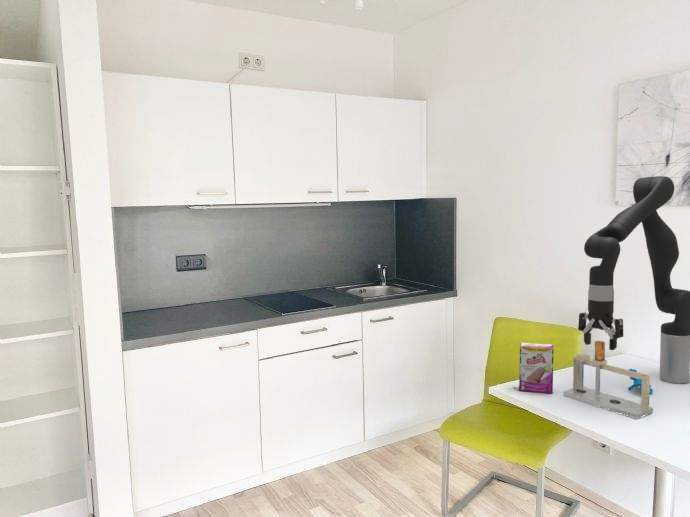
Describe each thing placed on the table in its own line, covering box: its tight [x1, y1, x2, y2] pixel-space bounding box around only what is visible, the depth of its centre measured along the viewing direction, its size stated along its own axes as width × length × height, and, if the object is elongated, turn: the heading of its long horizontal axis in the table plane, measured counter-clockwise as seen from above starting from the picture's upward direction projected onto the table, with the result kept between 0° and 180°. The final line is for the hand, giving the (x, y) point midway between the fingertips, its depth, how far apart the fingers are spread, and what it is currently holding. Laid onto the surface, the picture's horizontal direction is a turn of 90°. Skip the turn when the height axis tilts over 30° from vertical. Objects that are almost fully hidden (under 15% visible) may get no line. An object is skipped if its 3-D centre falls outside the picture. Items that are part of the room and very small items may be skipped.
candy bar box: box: [518, 342, 555, 394], centre depth 183 cm, size 11×5×16 cm, turn 71°
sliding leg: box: [591, 340, 608, 395], centre depth 172 cm, size 3×3×18 cm
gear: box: [627, 368, 654, 396], centre depth 180 cm, size 11×6×10 cm
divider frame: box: [563, 353, 654, 420], centre depth 169 cm, size 9×25×14 cm, turn 31°
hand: (599, 347), depth 171 cm, fingers open, 8 cm apart
